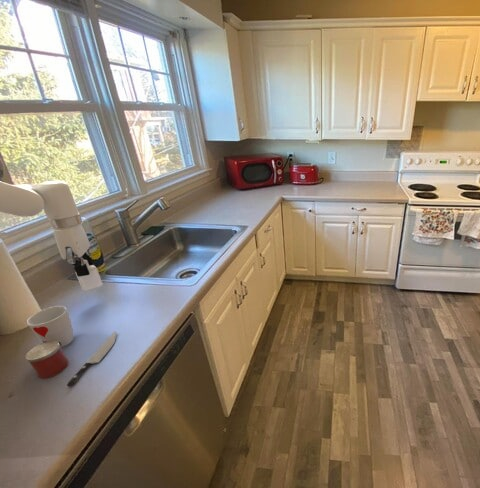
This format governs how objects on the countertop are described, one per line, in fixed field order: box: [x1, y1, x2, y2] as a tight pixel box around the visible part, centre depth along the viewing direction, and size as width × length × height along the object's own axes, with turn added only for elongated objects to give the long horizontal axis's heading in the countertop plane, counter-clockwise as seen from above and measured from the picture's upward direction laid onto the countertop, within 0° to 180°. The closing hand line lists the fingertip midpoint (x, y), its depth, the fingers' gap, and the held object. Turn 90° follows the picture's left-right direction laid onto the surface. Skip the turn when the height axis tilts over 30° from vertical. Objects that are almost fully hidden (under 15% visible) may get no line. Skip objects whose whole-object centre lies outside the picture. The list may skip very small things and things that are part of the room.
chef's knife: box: [66, 331, 117, 387], centre depth 76 cm, size 19×1×3 cm
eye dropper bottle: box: [75, 259, 104, 293], centre depth 96 cm, size 4×6×12 cm
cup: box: [26, 305, 74, 348], centre depth 79 cm, size 8×8×10 cm
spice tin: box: [25, 341, 69, 379], centre depth 72 cm, size 6×6×7 cm
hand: (86, 271), depth 95 cm, fingers closed on eye dropper bottle, 4 cm apart
